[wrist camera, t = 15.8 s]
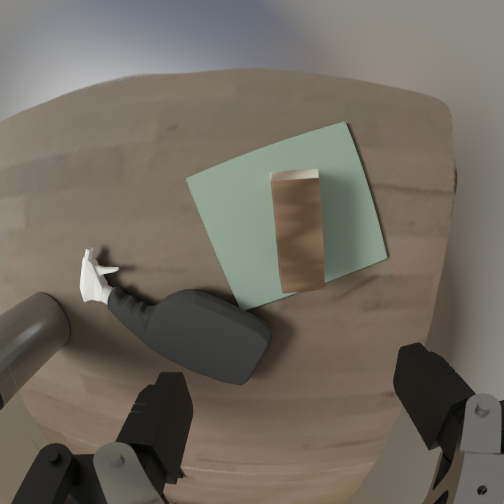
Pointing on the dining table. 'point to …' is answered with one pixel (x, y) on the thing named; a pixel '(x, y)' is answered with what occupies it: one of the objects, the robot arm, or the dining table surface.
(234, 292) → the rubber mat
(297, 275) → the walnut block
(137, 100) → the dining table surface
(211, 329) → the spray bottle
